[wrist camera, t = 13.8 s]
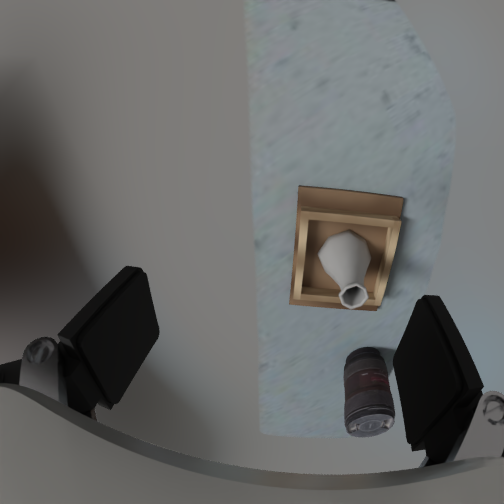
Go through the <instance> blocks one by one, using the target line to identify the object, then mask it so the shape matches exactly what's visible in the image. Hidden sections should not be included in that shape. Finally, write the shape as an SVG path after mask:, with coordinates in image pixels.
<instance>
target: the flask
mask: <svg viewBox="0 0 504 504" xmlns="http://www.w3.org/2000/svg"><path fill="white" fill-rule="evenodd" d="M317 254H318V256H319V259H320V261H321V264H322V266H323V268H324V271H325V272H326V273H327V274H328V275H329V276H330V277H332V278H333V280H334V281H335V282H336V283H337V284H338V285H339V286H340V289H341V292H340V293H339V298H340V300H341V303H342V305H344V306H345V307H347V308H349V309H354V308H357V307H360V306H362V305H363V304H364V303H365V302H366V301H367V299H368V298H369V296H368V293H367V289H366V287H365V286H364V277H365V274H366V271H367V268H368V266H369V263H370V260H371V255H370V252H369V249H368V246H367V242H366V240H365V239H363V238H362V237H360V236H359V235H357V234H355V233H354V232H352V231H350V230H349V229H348V230H346V231H343V232H340V233H338V234H335V235H332V236H330V237H328V239H327V240H326V241H325V243H324V244H323V246H322V247H321V249H320V250H319V252H318V253H317Z"/></svg>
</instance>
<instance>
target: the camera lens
mask: <svg viewBox="0 0 504 504" xmlns="http://www.w3.org/2000/svg"><path fill="white" fill-rule="evenodd" d="M344 387H345V406H344V416H345V427H346V430H347V433H349V434H350V435H352V436H355V437H372V436H376V435H379V434H381V433H384V432H386V431H387V430H389V429H390V428H391V427H392V426H393V424H394V417H395V410H394V403H393V398H392V394H391V391H390V386H389V380H388V372H387V368H386V364H385V362H384V359H383V357H382V356H381V355H380V353H379V351H378V350H376V349H374V348H369V347H366V348H360V349H357V350H355V351H353V352H352V353H350V354H349V356H348V357H347V359H346V364H345V367H344Z"/></svg>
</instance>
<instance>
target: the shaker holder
mask: <svg viewBox="0 0 504 504" xmlns="http://www.w3.org/2000/svg"><path fill="white" fill-rule="evenodd" d="M402 205H403V198H402V197H398V196H391V195H384V194H376V193H368V192H360V191H352V190H343V189H333V188H323V187H311V186H299V188H298V204H297V219H296V233H295V246H294V258H293V270H292V281H291V291H290V301H289V304H291V305H301V306H313V307H325V308H337V309H349V308H347V307H345V306H344V305H342V303H341V300H340V298H339V293H340V292H341V289H340V286H339V285H338V284H337V283H336V282H335V281H334V280H333V278H332V277H330V276H329V275H328V274H327V273H326V272H325V271H324V268H323V266H322V264H321V261H320V259H319V256H318V254H317V253H318V252H319V250H320V249H321V247H322V246H323V244H324V243H325V241H326V240H327V239H328V237H330V236H332V235H335V234H338V233H340V232H343V231H346V230H348V229H349V230H350V231H352V232H354V233H355V234H357V235H359V236H360V237H362V238H363V239H365V240H366V242H367V246H368V249H369V252H370V255H371V260H370V263H369V266H368V268H367V271H366V274H365V277H364V286H365V287H366V289H367V293H368V296H369V298H368V299H367V301H366V302H365V303H364V304H363V305H362V306H360V307H357V308H354V309H351V310H367V311H377V308H378V306H380V305H381V301H382V298H383V295H384V291H385V288H386V284H387V281H388V277H389V274H390V270H391V266H392V262H393V258H394V254H395V250H396V245H397V241H398V236H399V232H400V227H401V220H400V216H401V211H402Z"/></svg>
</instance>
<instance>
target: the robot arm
mask: <svg viewBox="0 0 504 504" xmlns="http://www.w3.org/2000/svg"><path fill="white" fill-rule="evenodd" d="M58 337H59V339H60V342H59V343H58V344H57V342H56V341H55V339H53V338H51V337H40V338H37V339H35V340H33V341H32V342H30V344H28V345H27V347H26V348H25V350H24V353H23V357H22V359H20V360H17V361H13V362H9V363H5V364H1V365H0V504H504V395H503V394H501V393H499V392H497V391H489V392H486V393H485V394H484V395H483V394H482V391H481V390H482V388H483V387H484V386H483V383H482V381H481V378H480V376H479V373H478V371H477V369H476V366H475V364H474V362H473V360H472V357H471V355H470V353H469V351H468V349H467V347H466V345H465V343H464V340H463V338H462V336H461V334H460V333H459V331H458V329H457V327H456V325H455V323H454V321H453V319H452V318H451V315H450V314H449V312H448V310H447V309H446V306H445V305H444V303H443V301H442V300H441V298H440V297H439V296H434V295H424V296H423V297H422V298H421V299H418V300H417V302H416V304H415V307H414V310H413V312H412V315H411V317H410V320H409V322H408V325H407V327H406V330H405V332H404V334H403V337H402V339H401V341H400V343H399V346H398V348H397V350H396V352H395V354H394V358H393V367H394V371H395V376H396V380H397V385H398V390H399V395H400V401H401V406H402V412H403V418H404V425H405V431H406V438H407V442H408V443H409V444H411V448H412V451H418V450H426V457H425V459H424V460H423V462H422V463H421V465H420V466H419V468H414V469H408V470H399V471H390V472H381V473H369V474H350V475H319V474H318V475H317V474H298V473H285V472H275V471H266V470H258V469H252V468H245V467H240V466H234V465H229V464H224V463H219V462H214V461H210V460H206V459H201V458H198V457H194V456H190V455H186V454H183V453H179V452H176V451H173V450H169V449H166V448H163V447H160V446H157V445H154V444H151V443H148V442H146V441H143V440H140V439H138V438H135V437H132V436H130V435H127V434H125V433H122V432H120V431H117V430H115V429H113V428H111V427H108V426H106V425H104V424H102V423H100V422H98V421H97V417H96V412H95V406H96V404H97V403H98V404H99V405H101V406H103V407H105V408H107V409H110V410H111V409H112V407H113V405H114V404H117V403H118V402H119V401H120V400H121V398H122V396H123V394H124V393H125V391H126V389H127V388H128V386H129V384H130V383H131V381H132V379H133V378H134V376H135V374H136V373H137V371H138V369H139V368H140V366H141V364H142V363H143V361H144V360H145V358H146V357H147V355H148V353H149V351H150V350H151V348H152V347H153V345H154V344H155V342H156V340H157V339H158V337H159V326H158V322H157V319H156V314H155V310H154V305H153V301H152V297H151V292H150V288H149V283H148V278H147V274H146V273H144V272H143V270H142V269H141V268H139V267H132V266H126V267H124V268H123V269H122V270H121V271H120V272H119V273H118V274H117V275H116V276H115V277H114V278H113V279H111V281H109V282H108V284H106V285H105V286H104V287H103V288H102V289H101V290H100V291H99V292H98V293H97V294H96V295H95V296H94V297H93V298H92V299H91V300H90V301H89V302H88V303H87V304H86V305H85V306H84V307H83V308H82V309H81V311H79V312H78V314H76V316H74V318H73V319H72V320H71V321H70V322H69V323H68V324H67V325H66V326H65V327H64V328H63V329H62V330H61V331H60V333H59V334H58Z"/></svg>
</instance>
